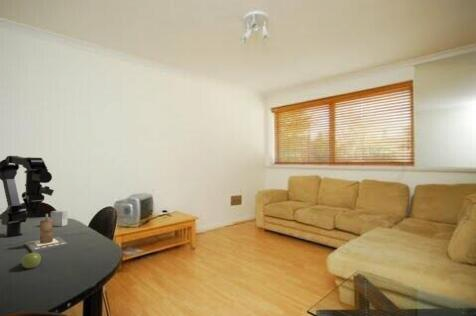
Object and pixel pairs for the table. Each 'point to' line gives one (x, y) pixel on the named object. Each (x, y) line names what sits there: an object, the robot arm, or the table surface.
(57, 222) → the medicine box
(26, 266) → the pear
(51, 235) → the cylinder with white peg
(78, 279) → the table surface
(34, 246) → the grey flat block
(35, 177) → the robot arm
